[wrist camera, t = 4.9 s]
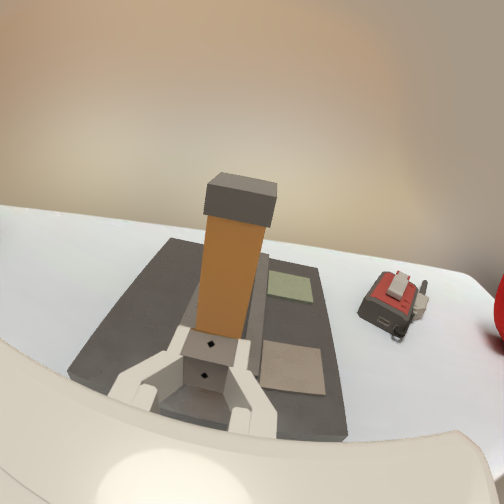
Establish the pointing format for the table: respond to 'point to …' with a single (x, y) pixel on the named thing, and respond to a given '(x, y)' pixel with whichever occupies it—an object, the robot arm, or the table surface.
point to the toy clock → (499, 309)
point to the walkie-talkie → (394, 303)
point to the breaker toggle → (232, 249)
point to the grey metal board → (255, 329)
